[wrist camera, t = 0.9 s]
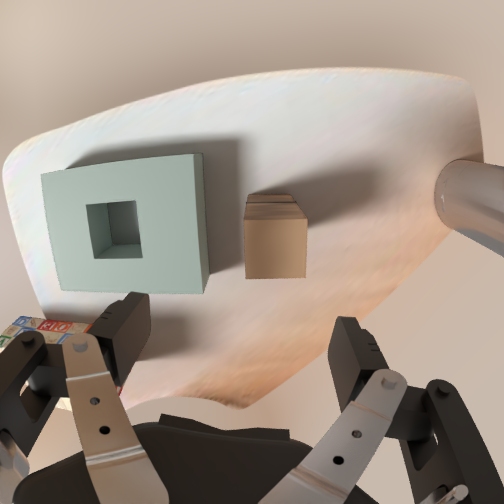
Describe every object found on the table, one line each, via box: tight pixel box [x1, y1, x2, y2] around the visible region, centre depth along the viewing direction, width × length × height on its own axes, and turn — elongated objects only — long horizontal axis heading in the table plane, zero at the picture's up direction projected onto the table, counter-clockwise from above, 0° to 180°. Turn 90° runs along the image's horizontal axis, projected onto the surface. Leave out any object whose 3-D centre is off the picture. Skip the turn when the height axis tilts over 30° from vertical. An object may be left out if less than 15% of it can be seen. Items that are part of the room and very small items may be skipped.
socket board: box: [41, 153, 210, 294], centre depth 32 cm, size 18×14×5 cm
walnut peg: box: [244, 194, 308, 279], centre depth 28 cm, size 5×5×12 cm
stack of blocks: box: [0, 316, 130, 411], centre depth 34 cm, size 21×6×12 cm, turn 91°
